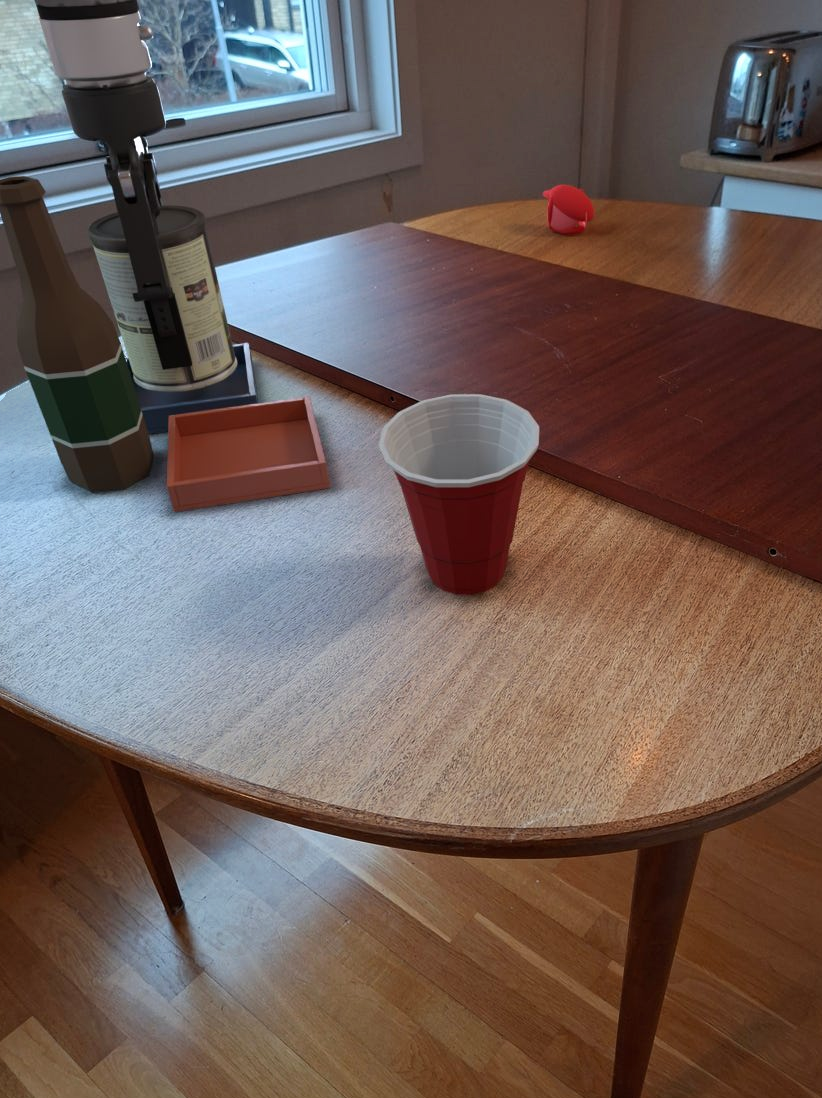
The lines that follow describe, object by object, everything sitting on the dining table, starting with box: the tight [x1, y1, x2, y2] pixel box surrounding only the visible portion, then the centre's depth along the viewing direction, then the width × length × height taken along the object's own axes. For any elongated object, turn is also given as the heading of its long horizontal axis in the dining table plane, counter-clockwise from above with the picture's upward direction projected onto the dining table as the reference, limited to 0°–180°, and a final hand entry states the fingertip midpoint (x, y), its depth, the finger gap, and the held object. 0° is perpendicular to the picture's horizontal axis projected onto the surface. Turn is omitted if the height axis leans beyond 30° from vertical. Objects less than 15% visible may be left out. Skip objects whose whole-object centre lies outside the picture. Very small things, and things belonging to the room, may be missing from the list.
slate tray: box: [125, 342, 260, 435], centre depth 89 cm, size 13×13×2 cm
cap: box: [542, 184, 595, 235], centre depth 126 cm, size 8×6×6 cm
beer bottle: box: [0, 175, 155, 493], centre depth 71 cm, size 8×8×24 cm
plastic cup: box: [378, 393, 540, 596], centre depth 62 cm, size 11×11×12 cm
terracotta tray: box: [166, 395, 331, 513], centre depth 79 cm, size 13×13×2 cm
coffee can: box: [86, 204, 237, 392], centre depth 83 cm, size 10×10×14 cm
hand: (178, 344), depth 86 cm, fingers closed on coffee can, 10 cm apart
